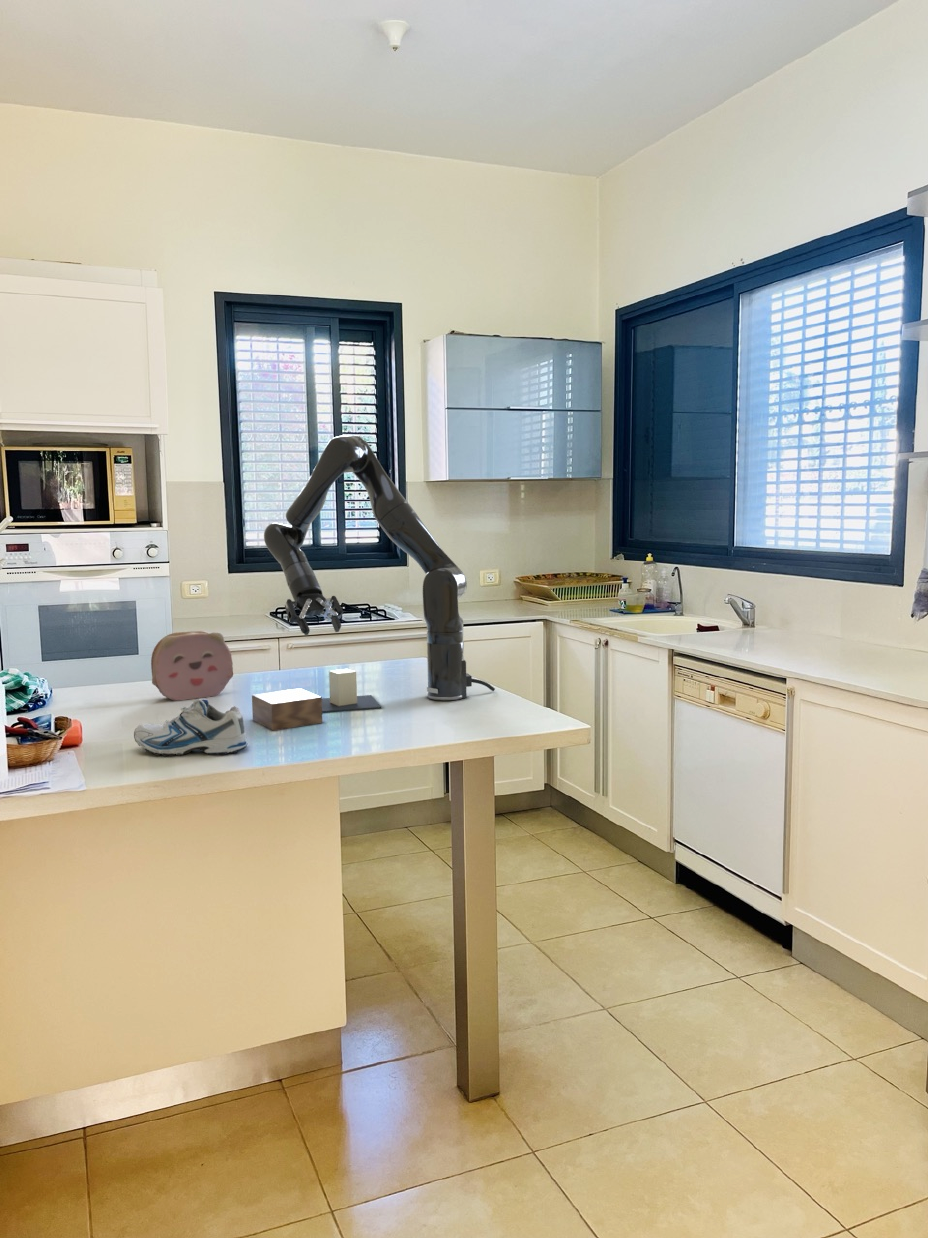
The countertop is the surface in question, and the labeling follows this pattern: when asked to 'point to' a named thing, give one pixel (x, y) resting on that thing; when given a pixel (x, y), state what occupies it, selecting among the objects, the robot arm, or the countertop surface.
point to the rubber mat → (351, 705)
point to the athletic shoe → (195, 732)
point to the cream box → (343, 687)
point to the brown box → (287, 709)
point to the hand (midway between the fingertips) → (323, 631)
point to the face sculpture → (191, 665)
